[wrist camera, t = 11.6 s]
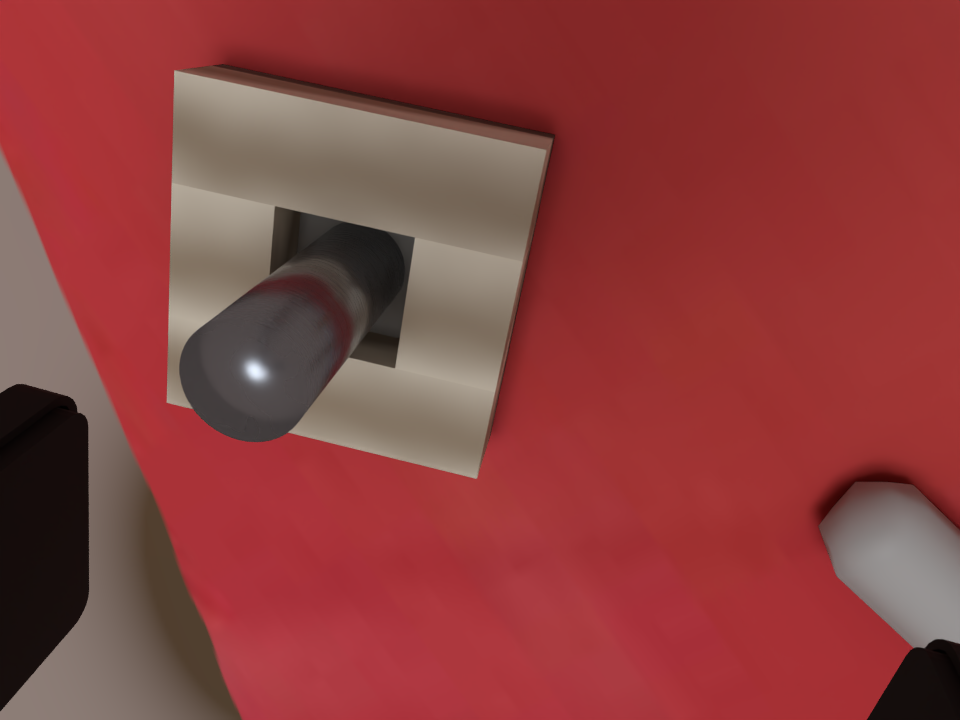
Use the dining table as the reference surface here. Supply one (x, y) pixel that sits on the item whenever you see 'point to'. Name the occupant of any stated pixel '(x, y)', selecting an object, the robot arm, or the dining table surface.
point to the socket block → (372, 203)
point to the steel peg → (290, 333)
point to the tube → (898, 558)
